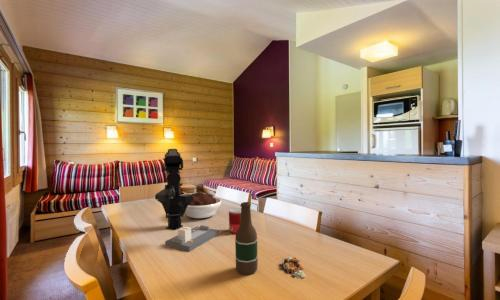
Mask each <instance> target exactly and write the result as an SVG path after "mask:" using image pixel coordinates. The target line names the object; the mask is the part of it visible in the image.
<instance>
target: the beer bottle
mask: <svg viewBox="0 0 500 300" xmlns="http://www.w3.org/2000/svg"><path fill="white" fill-rule="evenodd" d="M251 206H252V204H251V202H249V201H245V202H244V201H243V202H240V209H241V222H240V227H239V228H238V230H237V232H236V234H235V236H234V237H235V240H234V241H235V242H234V243H235V248H234V249H235V271H237V272H238V273H239V275H244V276H250V275H253V274H255V273H256V271H257V270H258V263H259V262H258V261H259V260H258V233H257V231H256V228H255V226H254V225H253V222H252V214H251V211H252V209H251Z"/></svg>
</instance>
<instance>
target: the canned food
mask: <svg viewBox="0 0 500 300" xmlns="http://www.w3.org/2000/svg"><path fill="white" fill-rule="evenodd" d="M240 222H241V208H230V209H229V210H228V226H229V227H228V229H229V230H228V231H229V233H230V234H234V235H236V232H237V230H238V228H239V227H240Z"/></svg>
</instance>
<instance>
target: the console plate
mask: <svg viewBox="0 0 500 300" xmlns="http://www.w3.org/2000/svg"><path fill="white" fill-rule="evenodd" d="M217 236H220V230H219V229H214V228H210V226H209V225H203V224H200V225H198V226H195V227H192V228H191V239H190V240H188V241H186V242H184V239H182V238H178V235H176V236H174V237H171V238H169V239H166V240H164V246H165V247H170V248H173V249H177V250H182V251H187V252H191V251H194V250H195V249H197V248H198V247H199V246H201V245H204V244H205V243H207V242H208V241H210V240H212V239H214V238H216V237H217Z"/></svg>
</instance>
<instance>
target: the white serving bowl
mask: <svg viewBox="0 0 500 300" xmlns="http://www.w3.org/2000/svg"><path fill="white" fill-rule="evenodd" d="M191 194H192V195H193V201H191V202H190V203H189V204H188V206H187V208H186V211H185V214H186V216H187V217H189V218H192V219H205V218H210V217H213V216H215V215H216V213H217V211H218V209H219V208H220V206H221V204H222V200H221V198H218V197H214V196H213V194H211V193H204V192H202V191H197V192H195V193H191Z"/></svg>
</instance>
